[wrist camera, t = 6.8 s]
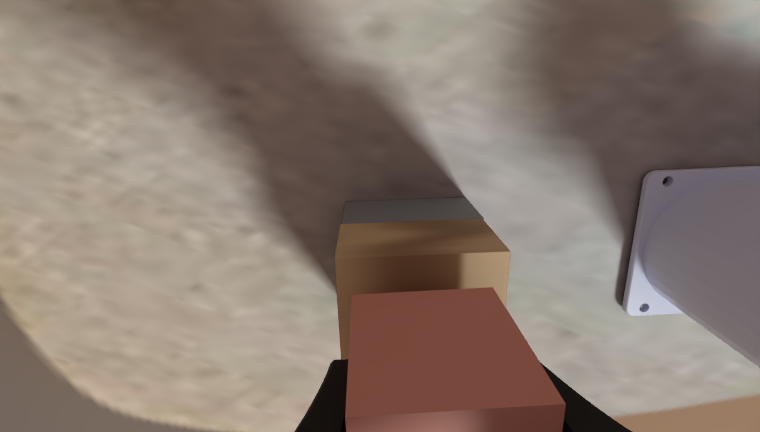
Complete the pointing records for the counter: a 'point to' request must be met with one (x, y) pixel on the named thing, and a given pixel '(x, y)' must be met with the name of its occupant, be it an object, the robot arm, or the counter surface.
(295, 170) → the counter surface
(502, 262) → the tower middle
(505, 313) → the red block
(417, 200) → the tower base
